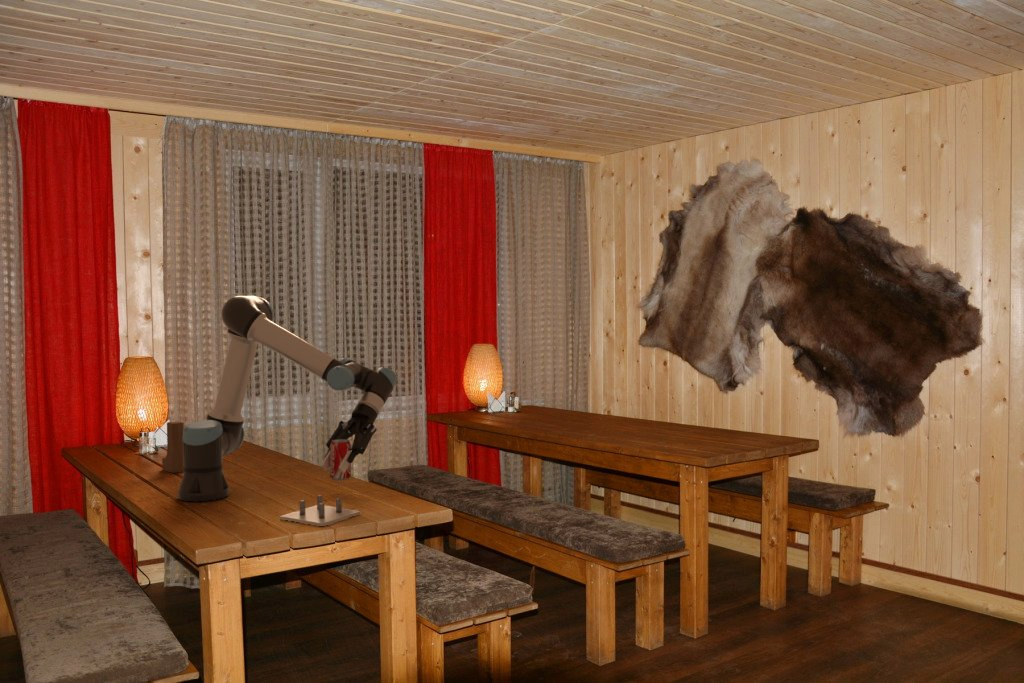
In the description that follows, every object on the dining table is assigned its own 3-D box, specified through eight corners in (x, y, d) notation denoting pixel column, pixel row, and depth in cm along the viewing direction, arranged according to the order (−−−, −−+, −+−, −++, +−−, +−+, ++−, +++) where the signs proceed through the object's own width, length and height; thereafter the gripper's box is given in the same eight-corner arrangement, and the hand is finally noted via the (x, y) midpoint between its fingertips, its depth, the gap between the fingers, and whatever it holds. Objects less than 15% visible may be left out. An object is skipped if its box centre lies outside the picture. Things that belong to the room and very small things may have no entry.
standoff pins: (298, 514, 243) (298, 501, 243) (319, 508, 251) (319, 494, 251) (321, 518, 239) (321, 504, 239) (342, 512, 246) (342, 498, 246)
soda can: (344, 476, 267) (344, 437, 266) (354, 479, 262) (354, 440, 261) (326, 478, 263) (326, 439, 262) (336, 482, 258) (336, 442, 257)
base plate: (279, 519, 242) (279, 516, 242) (318, 507, 256) (318, 504, 256) (322, 527, 234) (322, 523, 234) (360, 514, 248) (360, 510, 248)
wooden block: (161, 470, 312) (161, 421, 312) (174, 468, 316) (173, 419, 315) (172, 473, 306) (171, 423, 305) (184, 471, 309) (184, 422, 308)
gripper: (396, 419, 270) (362, 480, 257) (349, 414, 279) (314, 472, 266) (386, 404, 265) (351, 465, 252) (338, 400, 275) (302, 458, 261)
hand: (332, 469), depth 259 cm, fingers closed on soda can, 6 cm apart
